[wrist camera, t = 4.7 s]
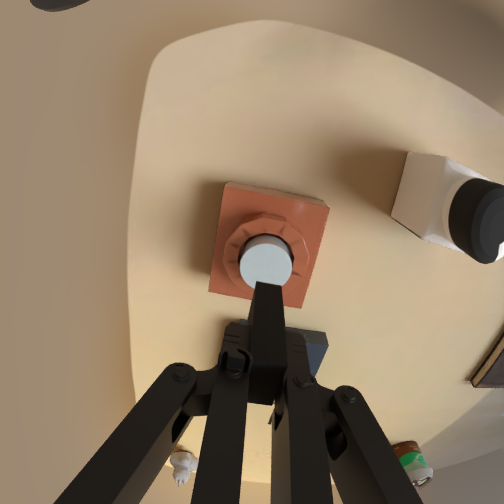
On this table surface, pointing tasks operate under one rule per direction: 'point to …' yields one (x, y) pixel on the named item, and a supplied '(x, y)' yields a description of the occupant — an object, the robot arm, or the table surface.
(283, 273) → the white round push button
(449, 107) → the table surface
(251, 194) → the orange button base
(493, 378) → the hardcover book
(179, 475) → the white lumpy figurine
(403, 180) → the medicine bottle
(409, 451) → the food container
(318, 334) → the push button base
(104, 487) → the robot arm
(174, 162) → the table surface
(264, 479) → the table surface
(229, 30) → the table surface
